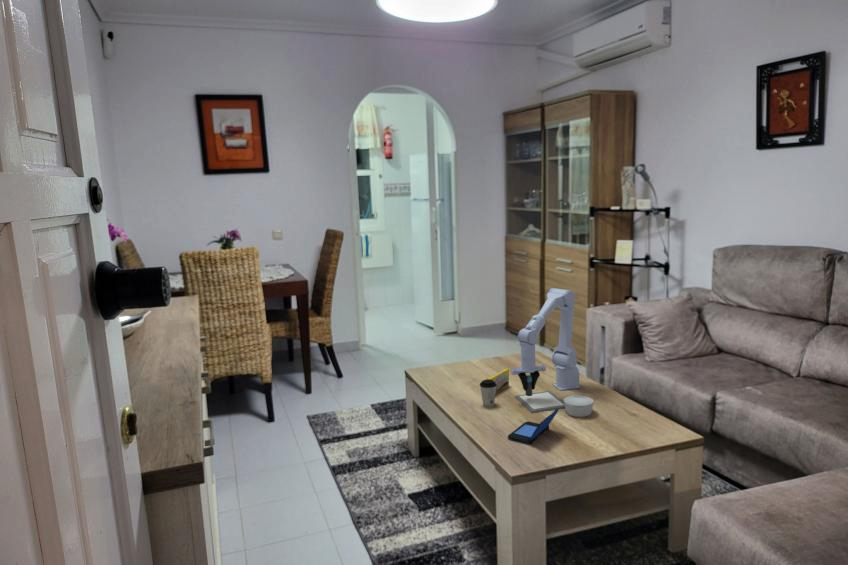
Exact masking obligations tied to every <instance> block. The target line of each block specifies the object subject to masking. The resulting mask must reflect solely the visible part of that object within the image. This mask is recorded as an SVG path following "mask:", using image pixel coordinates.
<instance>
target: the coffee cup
mask: <svg viewBox="0 0 848 565" xmlns="http://www.w3.org/2000/svg"><path fill="white" fill-rule="evenodd" d="M479 387H480V392H481V400H482V405H483V407H486V408H487V407H488V408H489V407H494V406H495V404H496V403H495V402H496V401H495V400H496V394H495V392H496V383H495V382H494V381H493V380H491V379H488V378H486V379H483V380H482V381H481V382H480V383H479Z"/></svg>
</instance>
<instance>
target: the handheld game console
mask: <svg viewBox="0 0 848 565" xmlns="http://www.w3.org/2000/svg"><path fill="white" fill-rule="evenodd" d="M558 412H559V409H555V410H553V412H551V413H550V414H548V416H547V417H545V418H544V419H543V420H542V421H540V423H539V422H532V421H525V422H523V423H522V424H521V425H520V426H518V427H517V428H516V429H515V430H513V431H511V433H510V434H508V435H507V438H508V440H510V441H513V442H516V443H521V444H525V445H529V446H530V445H532V444H533V443H534V442H535V441H537V439H538V437H541V436H542V435H543V434H545V433H546V432H547V431H549V429H550V424H551V423H552V421H553V419H554V418H555V416H556V415H557V414H558Z"/></svg>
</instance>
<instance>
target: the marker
mask: <svg viewBox="0 0 848 565" xmlns="http://www.w3.org/2000/svg"><path fill="white" fill-rule="evenodd" d="M526 376H528V377H527V391H525V394H526V396H532V393H533V389H532V376H531V375H530V374H528V375H527V374H526Z"/></svg>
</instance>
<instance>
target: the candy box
mask: <svg viewBox="0 0 848 565" xmlns="http://www.w3.org/2000/svg"><path fill="white" fill-rule="evenodd" d="M487 379H491V380H493V381H494V382H495V383H496V392H495V395H497V394H498V393H500V392H502V391H503V390H505V389H506V388H508V387H510V370H509V368H504V369H502V370H500V371H498V372H497V373H494V374H493V375H492V376H489V377H488V378H487Z"/></svg>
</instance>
